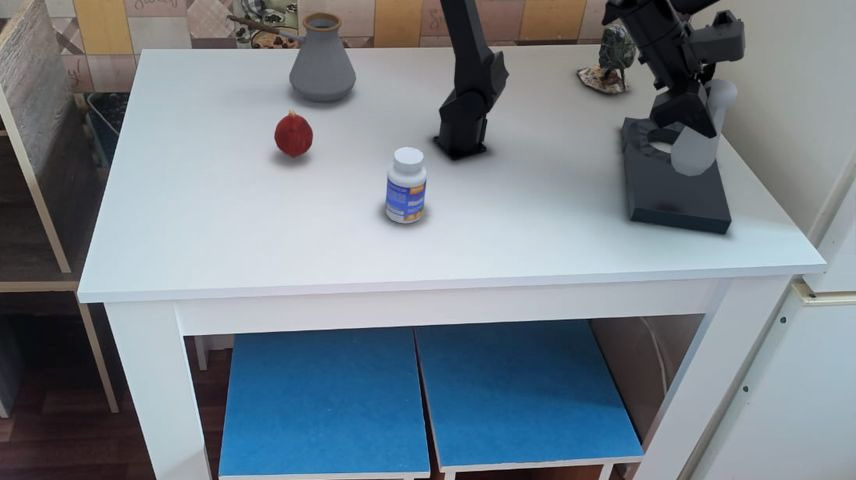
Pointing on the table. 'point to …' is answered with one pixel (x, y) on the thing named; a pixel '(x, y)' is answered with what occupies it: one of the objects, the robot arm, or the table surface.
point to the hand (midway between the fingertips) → (714, 130)
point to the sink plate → (669, 183)
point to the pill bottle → (406, 186)
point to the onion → (293, 135)
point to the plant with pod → (611, 61)
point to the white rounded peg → (692, 147)
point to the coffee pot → (316, 58)
